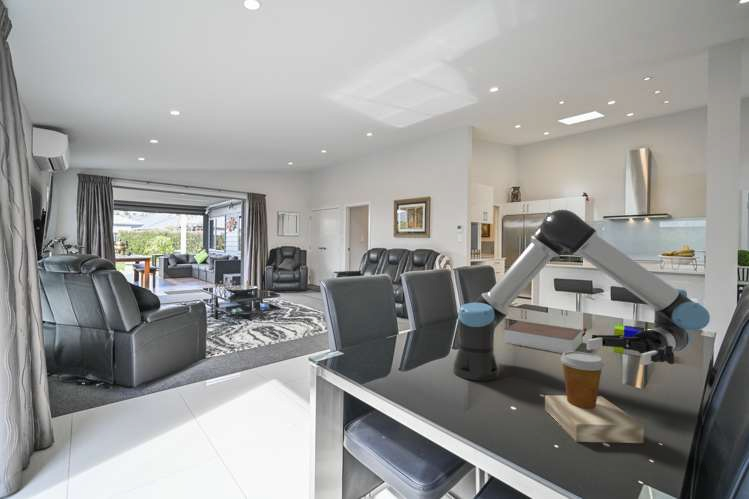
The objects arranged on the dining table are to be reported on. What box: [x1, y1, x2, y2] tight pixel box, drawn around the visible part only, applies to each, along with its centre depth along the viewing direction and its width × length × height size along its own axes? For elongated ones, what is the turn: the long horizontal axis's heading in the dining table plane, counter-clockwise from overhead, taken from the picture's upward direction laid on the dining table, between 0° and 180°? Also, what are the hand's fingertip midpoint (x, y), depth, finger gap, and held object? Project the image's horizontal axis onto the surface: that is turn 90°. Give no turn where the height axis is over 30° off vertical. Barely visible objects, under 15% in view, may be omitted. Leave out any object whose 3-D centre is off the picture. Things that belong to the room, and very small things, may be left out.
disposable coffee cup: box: [560, 351, 605, 408], centre depth 89 cm, size 10×10×12 cm
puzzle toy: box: [613, 324, 645, 357], centre depth 147 cm, size 10×10×10 cm
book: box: [502, 320, 584, 354], centre depth 159 cm, size 24×28×7 cm
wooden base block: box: [544, 394, 645, 444], centre depth 86 cm, size 15×15×4 cm
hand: (613, 351), depth 93 cm, fingers open, 13 cm apart
